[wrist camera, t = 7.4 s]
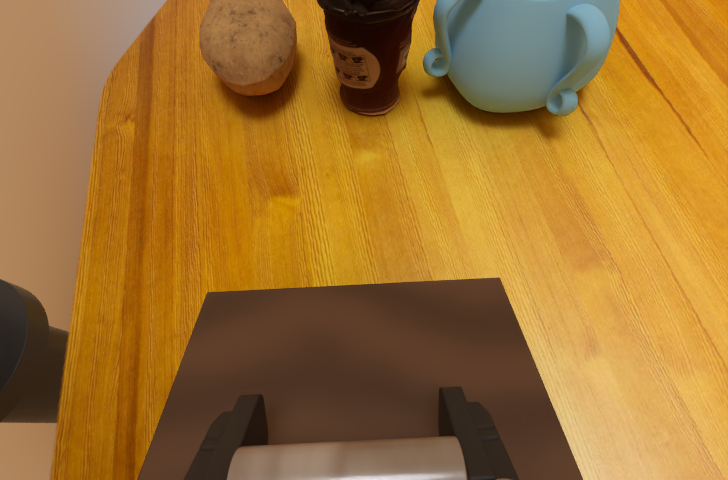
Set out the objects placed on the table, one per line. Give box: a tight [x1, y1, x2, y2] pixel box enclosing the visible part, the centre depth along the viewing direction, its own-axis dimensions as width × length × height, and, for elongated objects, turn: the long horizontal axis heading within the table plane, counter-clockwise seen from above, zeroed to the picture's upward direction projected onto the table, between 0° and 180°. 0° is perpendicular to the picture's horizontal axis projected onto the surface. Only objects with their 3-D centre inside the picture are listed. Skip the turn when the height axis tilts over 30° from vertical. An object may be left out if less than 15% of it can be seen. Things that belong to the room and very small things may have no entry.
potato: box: [200, 0, 297, 96], centre depth 39 cm, size 10×14×8 cm
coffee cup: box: [317, 0, 420, 115], centre depth 35 cm, size 9×8×13 cm
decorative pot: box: [423, 0, 620, 116], centre depth 35 cm, size 16×16×14 cm
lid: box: [137, 278, 583, 480], centre depth 14 cm, size 12×16×5 cm
